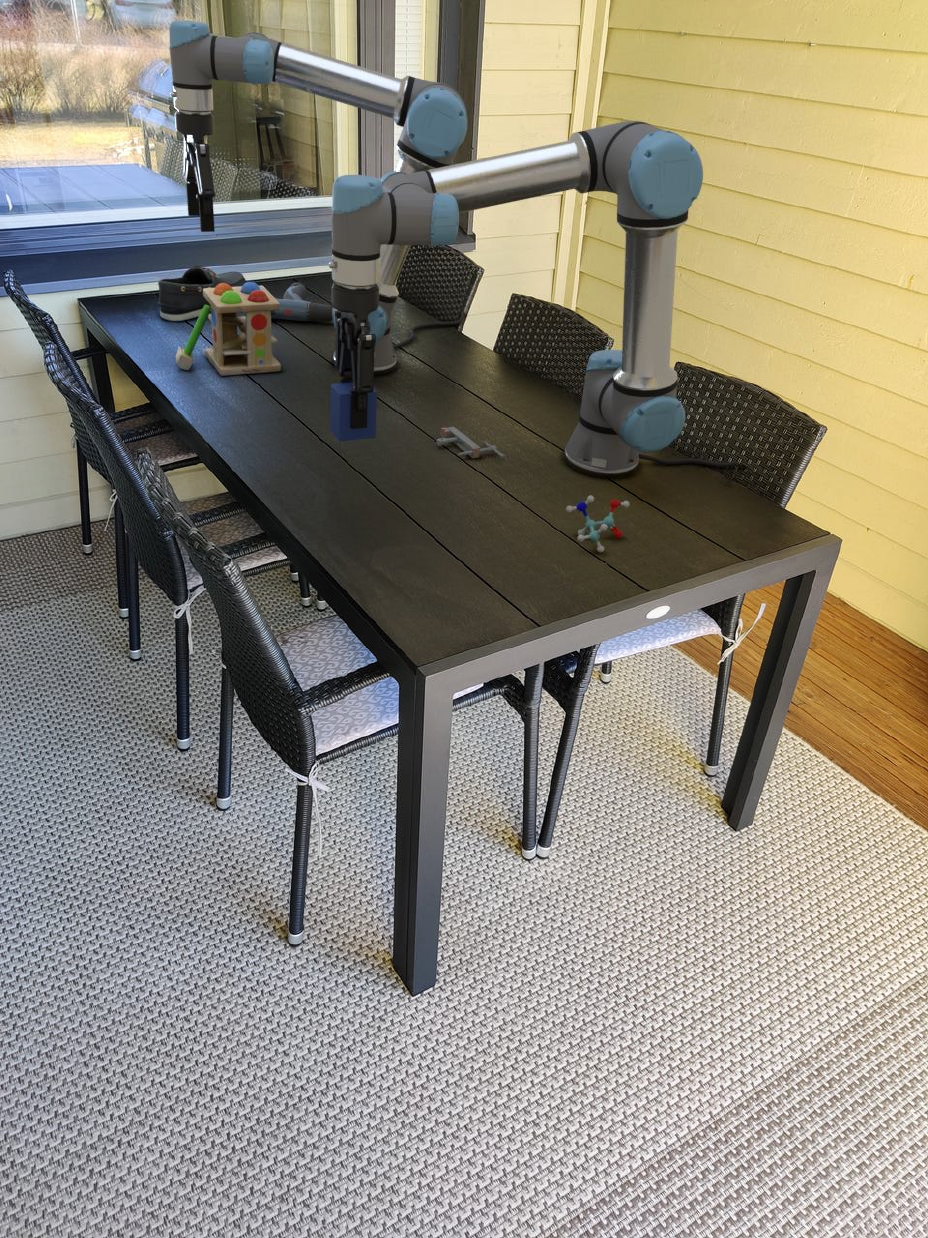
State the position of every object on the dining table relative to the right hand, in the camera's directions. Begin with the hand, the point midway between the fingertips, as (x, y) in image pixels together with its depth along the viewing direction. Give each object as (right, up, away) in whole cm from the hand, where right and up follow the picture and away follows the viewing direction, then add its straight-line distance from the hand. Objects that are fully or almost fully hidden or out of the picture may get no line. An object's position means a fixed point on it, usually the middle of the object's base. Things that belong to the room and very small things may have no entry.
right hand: (353, 420), depth 168 cm
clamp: (+20, +1, +34) cm, 39 cm away
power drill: (-24, +49, +99) cm, 113 cm away
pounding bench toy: (-37, +26, +62) cm, 77 cm away
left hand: (-37, +50, +39) cm, 73 cm away
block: (0, -2, +1) cm, 2 cm away
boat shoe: (-51, +51, +97) cm, 121 cm away
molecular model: (+42, -20, +7) cm, 47 cm away
